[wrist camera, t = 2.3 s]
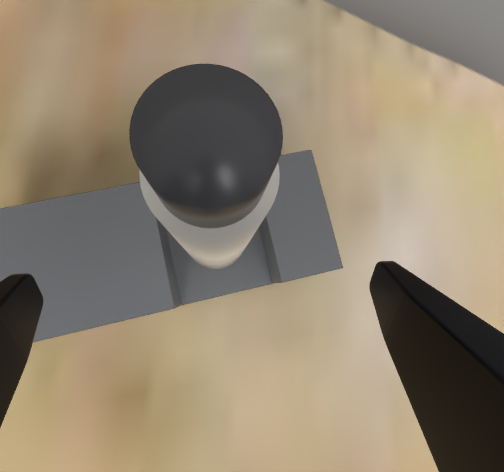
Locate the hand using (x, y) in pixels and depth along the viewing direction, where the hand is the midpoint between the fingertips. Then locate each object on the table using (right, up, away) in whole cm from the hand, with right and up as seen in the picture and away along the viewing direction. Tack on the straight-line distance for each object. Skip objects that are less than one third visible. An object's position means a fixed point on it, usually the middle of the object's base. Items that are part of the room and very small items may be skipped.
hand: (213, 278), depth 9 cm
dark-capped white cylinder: (-1, +1, +10) cm, 10 cm away
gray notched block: (-7, -1, +10) cm, 12 cm away
